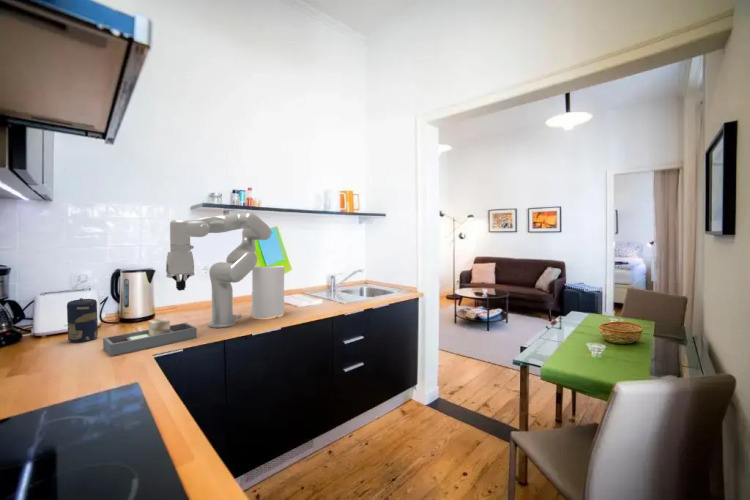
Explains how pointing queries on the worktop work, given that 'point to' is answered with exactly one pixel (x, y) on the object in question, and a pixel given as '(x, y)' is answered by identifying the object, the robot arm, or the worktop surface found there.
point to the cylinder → (267, 291)
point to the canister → (82, 320)
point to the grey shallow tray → (147, 339)
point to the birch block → (159, 326)
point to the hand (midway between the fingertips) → (180, 289)
